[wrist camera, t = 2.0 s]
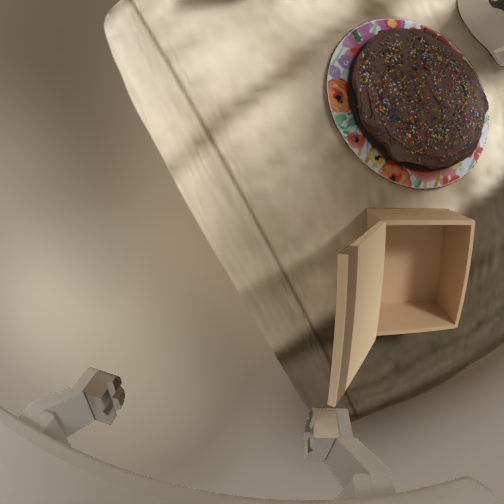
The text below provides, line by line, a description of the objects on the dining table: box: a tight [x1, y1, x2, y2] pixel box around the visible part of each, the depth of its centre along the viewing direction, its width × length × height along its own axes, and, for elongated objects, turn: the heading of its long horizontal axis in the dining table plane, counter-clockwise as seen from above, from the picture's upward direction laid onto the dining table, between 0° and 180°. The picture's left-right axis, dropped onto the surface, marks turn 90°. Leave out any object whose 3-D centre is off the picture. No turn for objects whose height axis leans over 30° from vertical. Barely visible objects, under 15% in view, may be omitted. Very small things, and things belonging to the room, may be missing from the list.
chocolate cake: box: [326, 18, 489, 189], centre depth 32 cm, size 28×28×7 cm
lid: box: [328, 221, 386, 407], centre depth 29 cm, size 14×16×1 cm
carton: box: [366, 208, 475, 336], centre depth 38 cm, size 14×16×9 cm
